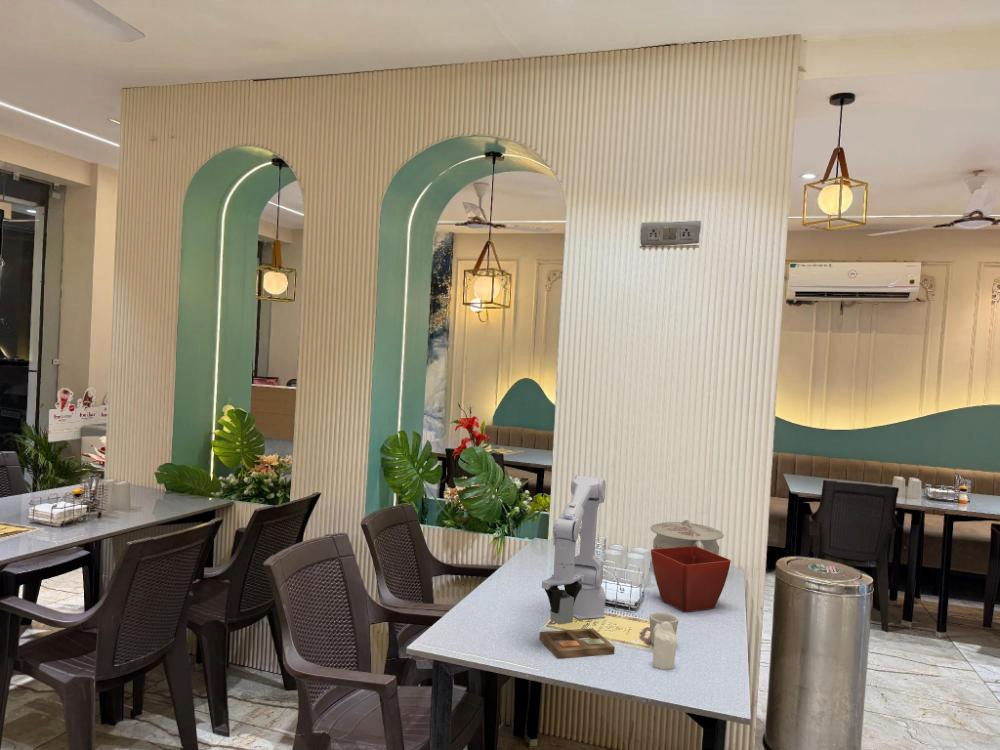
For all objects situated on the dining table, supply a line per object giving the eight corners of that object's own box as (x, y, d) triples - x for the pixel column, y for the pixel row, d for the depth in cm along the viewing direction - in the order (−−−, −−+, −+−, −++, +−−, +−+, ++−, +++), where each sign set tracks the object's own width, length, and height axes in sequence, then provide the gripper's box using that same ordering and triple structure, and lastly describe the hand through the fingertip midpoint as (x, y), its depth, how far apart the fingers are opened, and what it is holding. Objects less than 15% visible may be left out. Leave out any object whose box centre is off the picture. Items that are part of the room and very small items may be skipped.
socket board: (592, 635, 217) (593, 626, 217) (614, 653, 203) (614, 644, 203) (539, 639, 212) (539, 630, 211) (558, 658, 198) (558, 649, 198)
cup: (667, 655, 204) (669, 627, 204) (640, 648, 208) (641, 620, 208) (680, 644, 213) (682, 616, 213) (653, 637, 217) (655, 610, 217)
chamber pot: (665, 560, 304) (667, 509, 304) (731, 574, 288) (734, 520, 288) (635, 574, 281) (638, 519, 281) (705, 590, 265) (708, 532, 265)
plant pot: (682, 617, 236) (685, 564, 236) (646, 598, 253) (649, 548, 253) (729, 611, 244) (732, 560, 243) (692, 593, 261) (694, 545, 261)
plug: (563, 617, 212) (565, 587, 211) (572, 622, 208) (574, 592, 207) (550, 619, 209) (551, 589, 209) (559, 624, 205) (560, 594, 205)
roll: (669, 615, 201) (682, 623, 196) (666, 659, 201) (679, 668, 196) (650, 618, 198) (663, 625, 193) (648, 662, 199) (660, 671, 193)
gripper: (572, 555, 216) (570, 601, 216) (535, 562, 207) (533, 610, 207) (590, 561, 210) (587, 609, 211) (552, 568, 201) (550, 618, 201)
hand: (561, 610), depth 208 cm, fingers closed on plug, 5 cm apart
